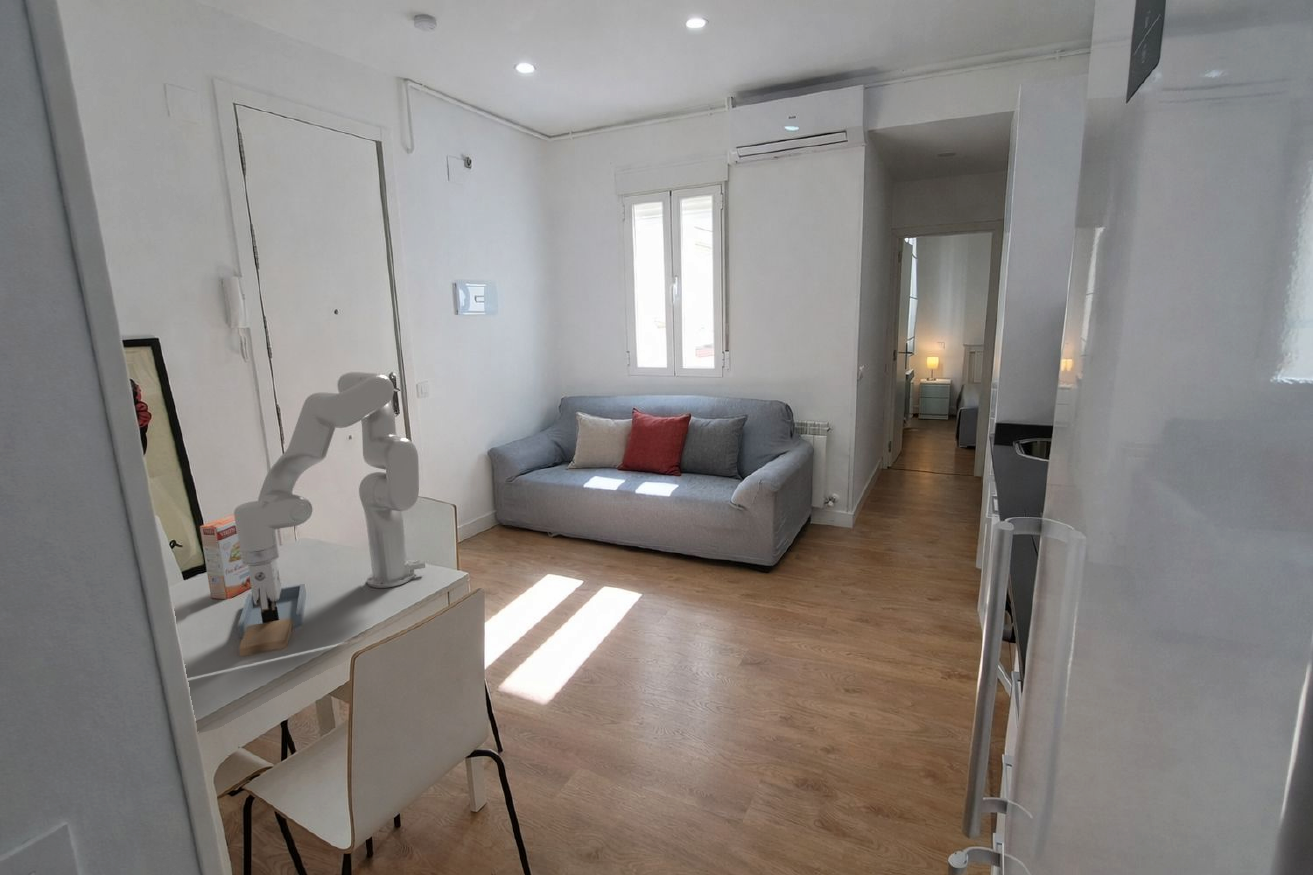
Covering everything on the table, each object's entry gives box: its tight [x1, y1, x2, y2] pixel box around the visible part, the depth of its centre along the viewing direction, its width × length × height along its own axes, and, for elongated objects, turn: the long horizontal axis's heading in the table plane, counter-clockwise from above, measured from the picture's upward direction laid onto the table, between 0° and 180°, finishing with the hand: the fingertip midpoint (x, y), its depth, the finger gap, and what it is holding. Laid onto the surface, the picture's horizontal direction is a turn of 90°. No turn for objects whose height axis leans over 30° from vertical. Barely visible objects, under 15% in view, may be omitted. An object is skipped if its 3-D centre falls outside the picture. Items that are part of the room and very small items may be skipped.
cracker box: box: [199, 513, 251, 600], centre depth 169 cm, size 14×6×21 cm, turn 168°
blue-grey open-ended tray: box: [236, 583, 307, 639], centre depth 155 cm, size 13×19×4 cm
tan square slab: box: [238, 618, 293, 658], centre depth 142 cm, size 9×10×2 cm
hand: (271, 624), depth 148 cm, fingers closed
